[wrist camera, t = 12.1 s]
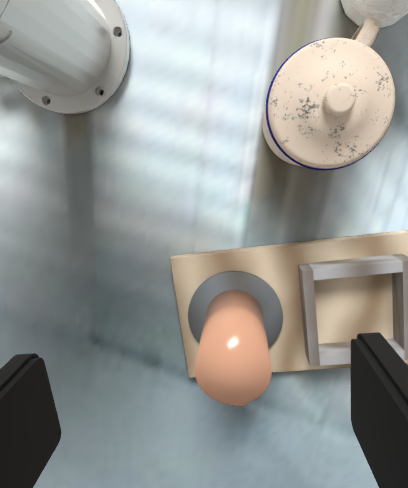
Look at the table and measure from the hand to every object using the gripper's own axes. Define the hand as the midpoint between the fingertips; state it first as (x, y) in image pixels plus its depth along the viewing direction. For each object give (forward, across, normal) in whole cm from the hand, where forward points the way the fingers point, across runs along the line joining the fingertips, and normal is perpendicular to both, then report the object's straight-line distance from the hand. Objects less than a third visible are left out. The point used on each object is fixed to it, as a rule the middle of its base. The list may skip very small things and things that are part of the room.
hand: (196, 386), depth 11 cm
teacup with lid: (+28, -10, -10) cm, 31 cm away
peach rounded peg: (+25, -1, +10) cm, 27 cm away
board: (+27, -7, +10) cm, 29 cm away
